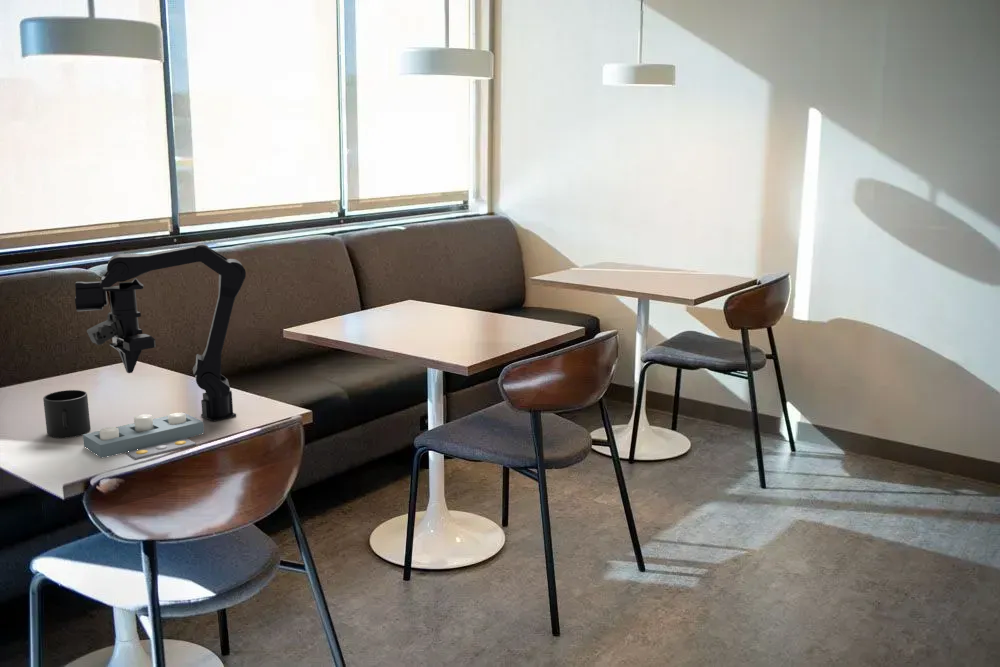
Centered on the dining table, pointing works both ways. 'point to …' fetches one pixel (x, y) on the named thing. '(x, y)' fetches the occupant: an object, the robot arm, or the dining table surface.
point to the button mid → (143, 423)
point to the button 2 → (176, 418)
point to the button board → (143, 436)
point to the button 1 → (109, 433)
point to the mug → (66, 413)
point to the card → (160, 448)
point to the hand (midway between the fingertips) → (129, 372)
